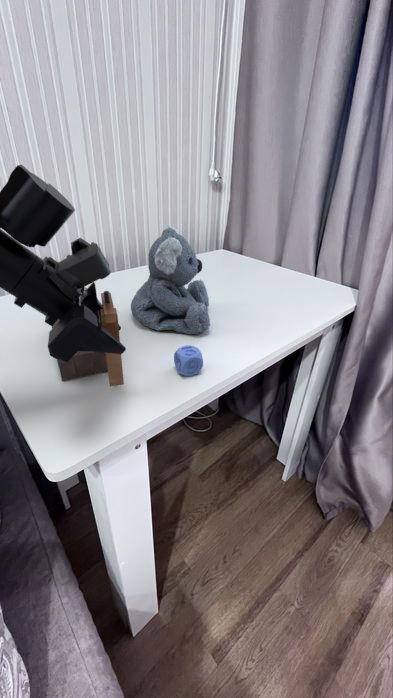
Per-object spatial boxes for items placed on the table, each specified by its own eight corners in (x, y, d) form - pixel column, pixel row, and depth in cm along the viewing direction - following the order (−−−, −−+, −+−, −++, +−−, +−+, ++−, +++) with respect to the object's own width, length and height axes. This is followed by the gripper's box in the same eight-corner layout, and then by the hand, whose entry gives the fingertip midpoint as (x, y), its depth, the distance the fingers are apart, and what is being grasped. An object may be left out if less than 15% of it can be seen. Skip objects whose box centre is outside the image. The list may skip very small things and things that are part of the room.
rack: (62, 381, 55) (56, 359, 53) (53, 329, 70) (48, 309, 67) (110, 371, 58) (107, 349, 56) (92, 323, 73) (89, 304, 70)
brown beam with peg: (111, 396, 50) (99, 303, 42) (107, 370, 56) (96, 282, 47) (126, 394, 51) (117, 301, 42) (121, 368, 56) (112, 281, 48)
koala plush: (210, 338, 69) (217, 243, 59) (124, 335, 69) (115, 239, 58) (208, 303, 84) (213, 222, 73) (137, 300, 83) (131, 219, 73)
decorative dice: (193, 361, 62) (194, 343, 60) (202, 373, 59) (203, 354, 57) (173, 365, 60) (173, 347, 58) (181, 378, 57) (182, 359, 55)
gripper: (61, 246, 32) (173, 333, 40) (65, 209, 46) (147, 279, 55) (-8, 327, 34) (113, 393, 43) (17, 267, 49) (103, 325, 57)
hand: (121, 340), depth 49 cm, fingers closed on brown beam with peg, 6 cm apart
